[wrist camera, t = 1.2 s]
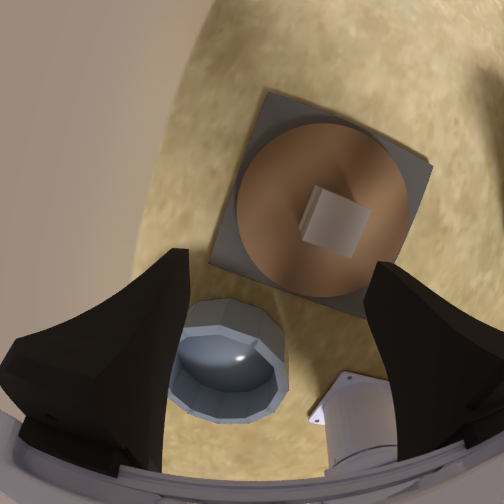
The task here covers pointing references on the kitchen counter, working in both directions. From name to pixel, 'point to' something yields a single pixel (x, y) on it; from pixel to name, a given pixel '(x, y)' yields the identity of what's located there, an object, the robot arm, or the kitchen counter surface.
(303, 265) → the lid
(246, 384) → the bowl
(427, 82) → the kitchen counter surface
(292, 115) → the mat
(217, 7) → the kitchen counter surface
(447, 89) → the kitchen counter surface
